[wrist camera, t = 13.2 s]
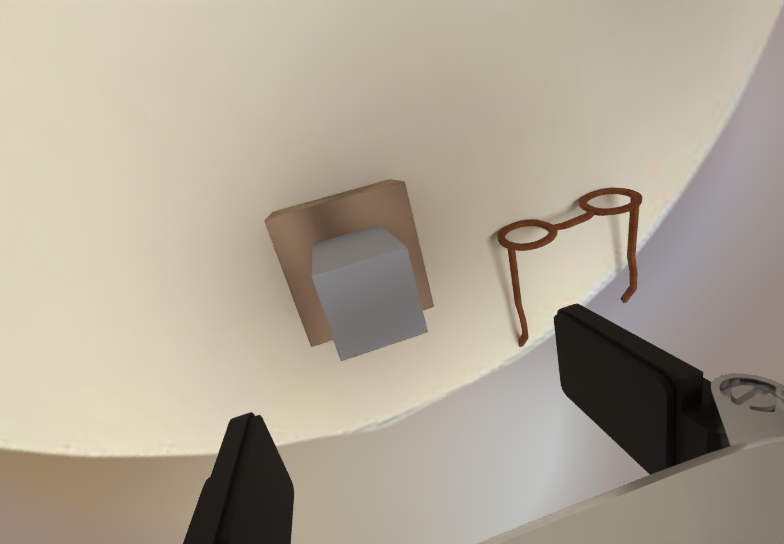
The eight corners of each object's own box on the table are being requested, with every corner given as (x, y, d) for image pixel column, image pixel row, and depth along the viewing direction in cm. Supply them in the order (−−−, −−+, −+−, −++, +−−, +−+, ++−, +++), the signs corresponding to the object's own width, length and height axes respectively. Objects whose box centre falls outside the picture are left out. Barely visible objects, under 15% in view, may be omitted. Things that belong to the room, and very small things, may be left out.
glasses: (608, 183, 35) (654, 186, 30) (623, 300, 39) (665, 318, 34) (486, 232, 34) (514, 242, 29) (515, 346, 38) (543, 372, 33)
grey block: (380, 224, 26) (407, 247, 18) (396, 287, 27) (428, 332, 20) (312, 244, 25) (311, 276, 18) (333, 307, 27) (340, 361, 19)
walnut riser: (390, 179, 30) (404, 181, 25) (417, 287, 33) (434, 306, 29) (272, 212, 29) (264, 220, 24) (311, 320, 32) (311, 346, 27)
